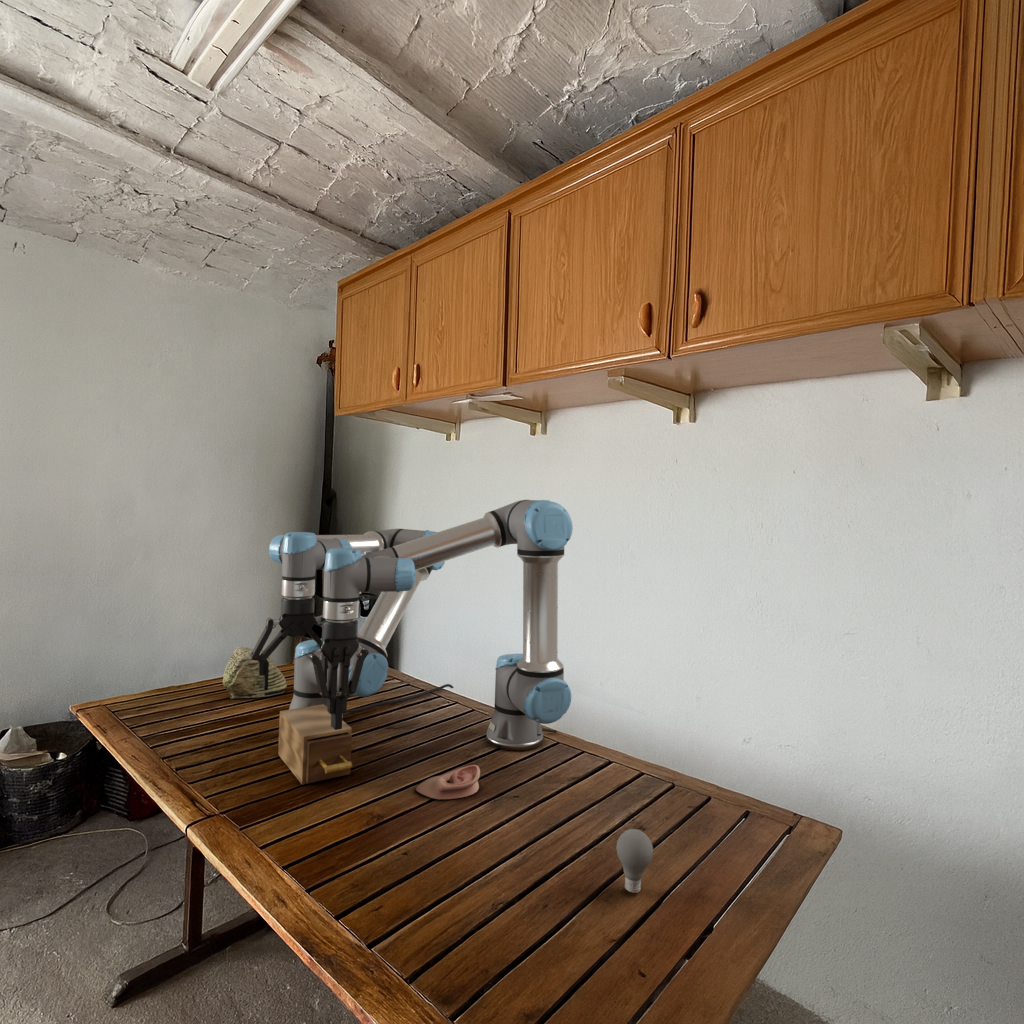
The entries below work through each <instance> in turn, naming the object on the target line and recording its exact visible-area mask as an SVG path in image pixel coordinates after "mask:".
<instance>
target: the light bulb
mask: <svg viewBox="0 0 1024 1024" xmlns="http://www.w3.org/2000/svg"><path fill="white" fill-rule="evenodd" d="M615 849H616V854H617V857H618V859H619V861H620V863H621V865H622V867H623V873H624V874H623V875H624V876H625V878H624V888H625V890H627V891H628V892H630V893H634V894H635V893H639V892H640V891H641V889H642V887H641V886H642V879H643V877H644V875H645V871H646V868H647V867H648V866H649V864H650V863H651V861H652V859H653V855H654V847H653V843H652V841H651V838H649V836H648V835H647V834H646V833H645V832H643V831H642V830H641V829H636V828H629V829H627V830H625V831H623V832H622V833H621V834H620V835H619V837H618V839H617V841H616V847H615Z"/></svg>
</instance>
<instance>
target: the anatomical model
mask: <svg viewBox="0 0 1024 1024" xmlns="http://www.w3.org/2000/svg"><path fill="white" fill-rule="evenodd" d="M480 776H481V769H480V767H479V765H477V764H470V765H466V766H463V767H462V766H461V767H459V768H457V769H453V770H451V771H450V772H447V773H444V774H442V775H436V776H432V777H429V778H427V779H426V780H424V781H422V782H420V783H419V784H418V785H417V786H416V787H415V791H416V792H417V793H419V794H421V795H423V796H425V797H428V798H431V799H434V800H453V799H454V800H455V799H460V798H466V797H469V796H471V795H474V794H476V793H477V792H478V791H479V788H480V784H479V779H480Z"/></svg>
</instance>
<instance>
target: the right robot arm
mask: <svg viewBox="0 0 1024 1024" xmlns="http://www.w3.org/2000/svg"><path fill="white" fill-rule="evenodd" d="M572 520H573V519H572V517H571V515H570V513H569V511H567V509H565V507H564V506H563V505H561V504H560V503H558V502H555V501H551V500H550V499H549V500H548V499H538V500H537V499H522V500H517V501H514V502H512V503H509V504H507V505H504V506H501V507H498V508H497V509H493V510H490V511H487V512H485V513H484V515H483V517H481V518H478V519H476V520H472V521H469V522H465V523H462V524H459V525H455V526H453V527H449V528H446V529H444V530H440V531H436V532H437V533H434V534H431V535H428V536H424V537H421V538H418V539H415V540H412V541H409V542H406V543H402V544H399V545H396V546H393V547H391V548H387V549H384V550H380V551H370V552H367V553H365V554H364V555H363V556H361V551H360V550H359V549H354V548H332V549H329V550H328V551H327V552H326V558H325V568H324V569H323V597H322V598H323V599H322V601H323V602H322V615H323V618H324V619H325V620H324V621H323V622H322V626H321V639H322V642H321V644H320V646H319V649H318V650H317V651H316V652H314V653H310V654H309V655H308V657H309V658H310V660H311V661H312V663H313V666H314V671H315V676H316V681H317V685H318V690H319V694H320V695H321V696H322V697H324V698H328V708H327V711H328V713H329V714H331V727H332V728H333V729H335V730H338V729H342V712H346V710H348V707H347V706H348V699H350V696H351V695H350V694H354V693H355V692H356V689H357V685H358V682H359V678H360V674H361V670H362V666H363V663H364V660H365V658H366V657H367V655H368V653H369V651H368V650H367V649H365V648H363V647H360V646H359V642H358V640H357V636H358V633H359V621H358V620H357V619H358V618H359V608H360V593H367V592H368V593H369V592H370V593H371V592H372V593H374V592H378V593H381V592H400V591H409V590H411V589H412V588H413V586H414V583H415V571H417V570H420V569H423V568H426V567H429V566H432V565H435V564H438V563H441V562H444V561H445V562H447V561H449V560H454V559H456V558H459V557H461V556H465V555H469V554H471V553H473V552H476V551H479V550H483V549H486V548H489V547H491V546H493V547H494V548H501V547H504V546H508V545H509V546H510V545H516V546H517V547H516V552H517V553H516V555H517V557H518V558H519V559H520V560H521V561H522V567H523V568H522V569H523V570H522V571H523V572H522V575H523V576H522V578H523V579H522V581H523V582H522V584H523V585H522V595H523V596H522V606H523V607H522V637H523V638H522V653H506V654H502V655H500V656H498V657H497V659H496V664H495V680H494V681H495V682H494V683H495V684H494V709H493V713H492V716H491V719H490V721H489V724H488V727H487V729H486V737H485V739H486V742H487V743H488V744H489V745H490V746H492V747H494V748H497V749H500V750H506V751H512V752H524V751H531V750H535V749H537V748H539V747H541V746H542V745H543V743H544V732H546V733H553V734H556V733H557V732H558V731H557V730H556V729H549V728H543V727H542V725H541V724H543V725H549V724H553V723H555V722H557V721H560V719H562V718H563V716H565V714H566V713H567V712H568V710H569V709H570V706H571V703H572V691H571V688H570V686H569V684H568V683H567V682H566V680H564V678H565V677H564V674H565V673H564V672H565V669H564V667H565V666H564V663H563V661H561V660H560V659H559V657H558V653H559V652H558V647H559V646H558V645H559V643H558V641H559V639H558V637H559V636H558V635H559V633H558V632H559V631H558V630H559V627H558V626H559V625H558V623H559V620H558V619H559V562H560V560H562V558H564V556H565V546H566V545H567V543H568V542H569V541H570V540H571V537H572V535H573V527H574V526H573V525H574V524H573V521H572ZM355 652H356V653H355ZM354 653H355V654H356V656H355V659H354V663H353V667H352V670H351V674H350V678H349V666H350V659H351V658H352V656H353V655H354ZM322 654H323V655H324V656H325V658H326V659H327V660H328V686H327V685H326V681H325V676H324V671H323V666H322V663H321V660H322ZM339 664H340V672H339V692H337V671H338V667H339ZM336 695H338V696H336Z"/></svg>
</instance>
